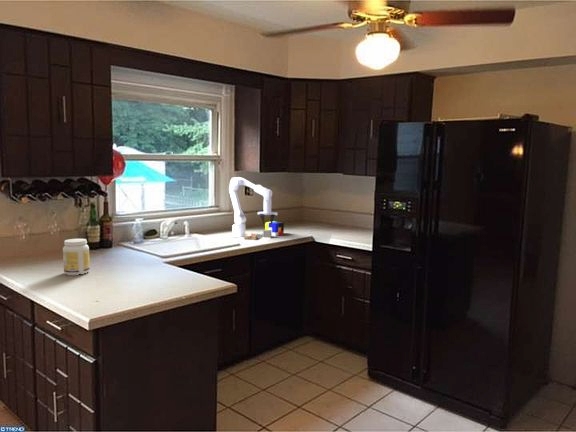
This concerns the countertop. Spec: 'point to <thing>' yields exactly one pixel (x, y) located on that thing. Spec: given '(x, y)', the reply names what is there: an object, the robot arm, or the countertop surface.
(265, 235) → the block
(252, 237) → the collar
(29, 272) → the countertop surface
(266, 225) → the puzzle toy
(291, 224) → the countertop surface
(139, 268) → the countertop surface
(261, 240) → the board
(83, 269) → the supplement tub
